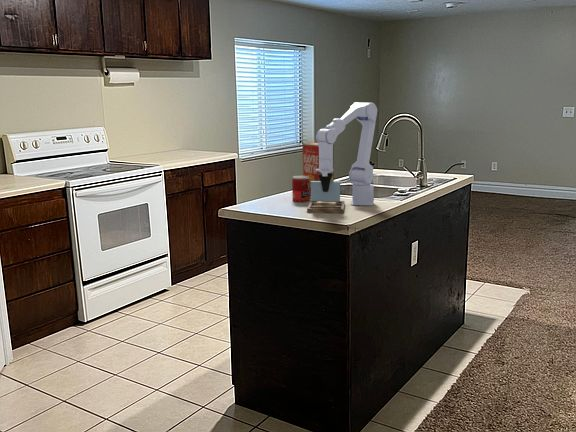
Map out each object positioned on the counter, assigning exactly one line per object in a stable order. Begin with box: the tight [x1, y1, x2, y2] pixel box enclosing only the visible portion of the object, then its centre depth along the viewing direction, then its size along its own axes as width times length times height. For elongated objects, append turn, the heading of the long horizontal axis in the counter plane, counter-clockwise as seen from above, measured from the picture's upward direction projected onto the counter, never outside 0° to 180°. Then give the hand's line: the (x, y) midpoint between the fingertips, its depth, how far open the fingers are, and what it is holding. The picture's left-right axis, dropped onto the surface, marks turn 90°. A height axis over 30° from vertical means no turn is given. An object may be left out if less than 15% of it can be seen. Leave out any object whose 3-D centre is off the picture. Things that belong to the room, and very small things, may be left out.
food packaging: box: [302, 142, 335, 198], centre depth 270 cm, size 13×9×25 cm
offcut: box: [316, 201, 336, 206], centre depth 243 cm, size 8×3×3 cm, turn 73°
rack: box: [306, 200, 345, 214], centre depth 244 cm, size 15×18×2 cm
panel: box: [310, 180, 341, 201], centre depth 237 cm, size 12×2×8 cm, turn 83°
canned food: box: [291, 175, 310, 203], centre depth 261 cm, size 8×8×11 cm
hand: (325, 191), depth 237 cm, fingers closed on panel, 2 cm apart
